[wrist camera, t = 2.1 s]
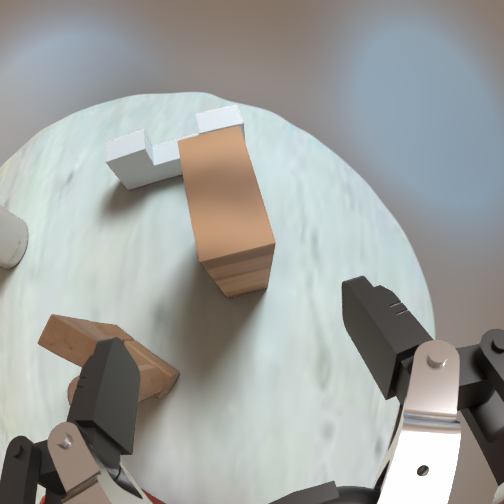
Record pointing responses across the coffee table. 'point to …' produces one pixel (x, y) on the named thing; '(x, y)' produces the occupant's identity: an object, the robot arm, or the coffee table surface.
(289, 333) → the coffee table surface
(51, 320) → the brown notched handled part
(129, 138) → the white notched u-shaped brace
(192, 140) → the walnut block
